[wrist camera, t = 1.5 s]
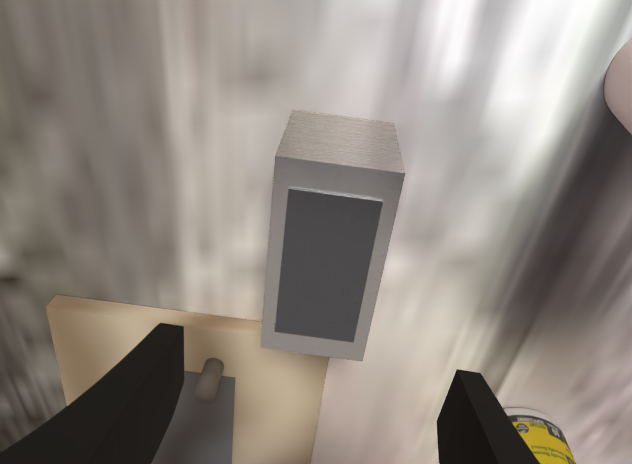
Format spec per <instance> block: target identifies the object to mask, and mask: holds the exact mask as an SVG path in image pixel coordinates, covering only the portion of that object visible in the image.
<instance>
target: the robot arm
mask: <svg viewBox="0 0 632 464" xmlns="http://www.w3.org/2000/svg"><path fill="white" fill-rule="evenodd" d="M183 384H184V326H179V325H172V324H166V323H160V324H158V325H157V326H156V327H155V328H154V329H153V330H152V331H151V332H150V333H149V334H148V335H147V336H146V337H145V338H144V339H143V340H142V341H141V342H140V343H139V344H138V345H137V346H136V347H134V348H133V349H132V350H131V351H130V352H129V353H128V354H127V355H126V356H125V357H124V358H123V359H122V360H121V361H120V362H119V363H117V364H116V365H115V366H114V367H113V368H112V369H111V370H110V371H109V372H107V373H106V374H105V375H104V376H103V377H102V378H101V379H100V380H98V381H97V382H96V383H95V384H94V385H93V386H91V387H90V388H89V389H88V390H86V391H85V392H84V393H83V394H82V395H80V396H79V397H78V398H77V399H75V400H74V401H73V402H72V403H71V404H69V405H68V406H67V407H65V408H64V409H63V410H62V411H60V412H59V413H58V414H56V415H55V416H54V417H52V418H51V419H50V420H48V421H47V422H45V423H44V424H43V425H41V426H40V427H38V428H37V429H36V430H34V431H33V432H31V433H30V434H28V435H27V436H25V437H24V438H22V439H21V440H19V441H18V442H16V443H15V444H13V445H12V446H10V447H9V448H7V449H5V450H4V451H2V452H1V453H0V464H151V463H152V461H153V459H154V457H155V455H156V453H157V450H158V448H159V446H160V444H161V442H162V440H163V437H164V435H165V433H166V431H167V429H168V426H169V424H170V422H171V420H172V417H173V414H174V412H175V409H176V406H177V403H178V400H179V397H180V393H181V390H182V387H183ZM437 435H438V452H439V463H440V464H540V462H539V461H538V460H537V458H536V457H535V456H534V454H533V453H532V451H531V450H530V448H529V447H528V445H527V444H526V443H525V441H524V440H523V438H522V437H521V435H520V434H519V432H518V431H517V429H516V428H515V426H514V425H513V423H512V422H511V420H510V419H509V417H508V416H507V414H506V413H505V411H504V409H503V408H502V406H501V405H500V403H499V402H498V400H497V398H496V397H495V395H494V394H493V392H492V390H491V389H490V387H489V386H488V384H487V382H486V381H485V379H484V378H483V376H482V375H481V373H476V372H470V371H464V370H457V371H456V373H455V376H454V378H453V381H452V384H451V386H450V389H449V391H448V394H447V396H446V399H445V402H444V404H443V407H442V409H441V412H440V414H439V417H438V420H437Z"/></svg>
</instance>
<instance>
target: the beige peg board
mask: <svg viewBox="0 0 632 464" xmlns="http://www.w3.org/2000/svg"><path fill="white" fill-rule="evenodd" d="M46 311H47V315H48V320H49V325H50V329H51V334H52V339H53V343H54V348H55V353H56V357H57V362H58V367H59V371H60V376H61V381H62V385H63V390H64V394H65V399H66V404H67V406H68V405H69V404H71V403H72V402H73V401H74V400H75V399H77V398H78V397H79V396H80V395H82V394H83V393H84V392H85V391H86V390H88V389H89V388H90V387H91V386H93V385H94V384H95V383H96V382H97V381H98V380H100V379H101V378H102V377H103V376H104V375H105V374H106V373H107V372H109V371H110V370H111V369H112V368H113V367H114V366H115V365H116V364H117V363H119V362H120V361H121V360H122V359H123V358H124V357H125V356H126V355H127V354H128V353H129V352H130V351H131V350H132V349H133V348H134V347H136V346H137V345H138V344H139V343H140V342H141V341H142V340H143V339H144V338H145V337H146V336H147V335H148V334H149V333H150V332H151V331H152V330H153V329H154V328H155V327H156V326H157V325H158V324H160V323H166V324H172V325H179V326H184V384H183V387H182V390H181V393H180V397H179V400H178V403H177V406H176V409H175V412H174V414H173V417H172V420H171V422H170V424H169V426H168V429H167V431H166V433H165V435H164V437H163V440H162V442H161V444H160V446H159V448H158V450H157V453H156V455H155V457H154V459H153V461H152V463H151V464H310V462H311V456H312V451H313V445H314V439H315V434H316V428H317V422H318V417H319V411H320V405H321V400H322V394H323V388H324V383H325V377H326V371H327V366H328V360H329V357H326V356H318V355H311V354H303V353H296V352H289V351H281V350H274V349H266V348H260V345H261V332H262V322H258V321H251V320H243V319H236V318H228V317H221V316H213V315H206V314H198V313H191V312H183V311H175V310H168V309H160V308H153V307H145V306H138V305H130V304H123V303H115V302H108V301H100V300H93V299H85V298H78V297H70V296H63V295H56V296H55V297H54V298H53V299H52V301H51V302H50V303H49V304H48V305H47V306H46Z"/></svg>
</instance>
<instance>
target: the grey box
mask: <svg viewBox="0 0 632 464" xmlns="http://www.w3.org/2000/svg"><path fill="white" fill-rule="evenodd" d="M404 176H405V170H404V166H403V161H402V156H401V152H400V147H399V143H398V138H397V133H396V129H395V124H394V123H390V122H383V121H375V120H368V119H361V118H353V117H346V116H338V115H331V114H324V113H316V112H309V111H301V110H294V109H293V110H292V113H291V115H290V118H289V121H288V123H287V126H286V129H285V131H284V134H283V137H282V139H281V142H280V145H279V148H278V150H277V153H276V156H275V167H274V180H273V193H272V205H271V218H270V231H269V243H268V256H267V269H266V282H265V294H264V307H263V320H262V332H261V345H260V348H266V349H274V350H281V351H289V352H296V353H303V354H311V355H318V356H326V357H333V358H340V359H348V360H355V361H363V356H364V352H365V348H366V343H367V339H368V335H369V330H370V326H371V321H372V317H373V313H374V308H375V304H376V299H377V295H378V291H379V286H380V282H381V277H382V273H383V269H384V264H385V260H386V255H387V251H388V247H389V242H390V238H391V234H392V229H393V225H394V220H395V216H396V212H397V207H398V203H399V198H400V194H401V190H402V185H403V181H404Z"/></svg>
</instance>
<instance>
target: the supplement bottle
mask: <svg viewBox="0 0 632 464" xmlns="http://www.w3.org/2000/svg"><path fill="white" fill-rule="evenodd" d="M504 411H505V413H506V414H507V416H508V417H509V419H510V420H511V422H512V423H513V425H514V426H515V428H516V429H517V431H518V432H519V434H520V435H521V437H522V438H523V440H524V441H525V443H526V444H527V445H528V447H529V448H530V450H531V451H532V453H533V454H534V456H535V457H536V458H537V460H538V461H539V462H540V464H576V462H575V460H574V458H573V455H572V453H571V451H570V448H569V446H568V444H567V442H566V439H565V437H564V435H563V433H562V431H561V429H560V427H559V426H558V424H557V423H556V422H555V421H554V420H553V419H552V418H550V417H549V416H547V415H546V414H544V413H541V412H539V411H536V410H532V409H527V408H504Z"/></svg>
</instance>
